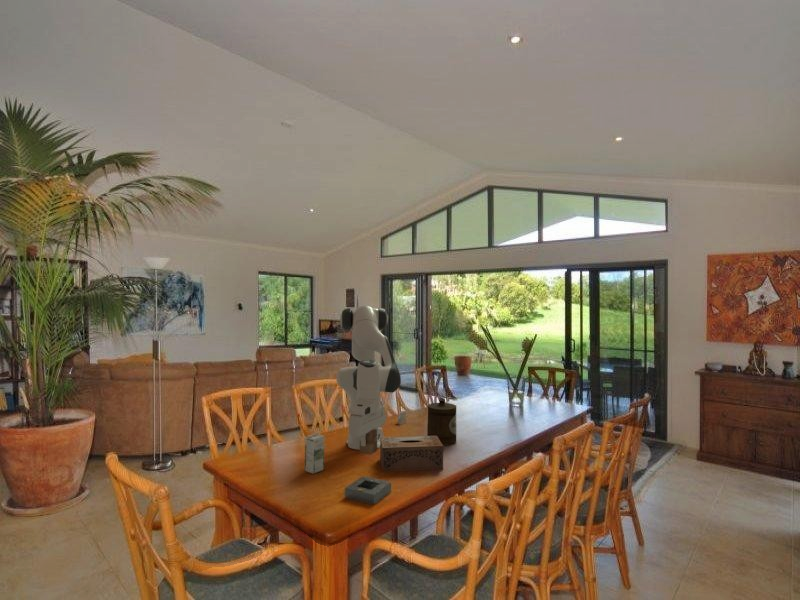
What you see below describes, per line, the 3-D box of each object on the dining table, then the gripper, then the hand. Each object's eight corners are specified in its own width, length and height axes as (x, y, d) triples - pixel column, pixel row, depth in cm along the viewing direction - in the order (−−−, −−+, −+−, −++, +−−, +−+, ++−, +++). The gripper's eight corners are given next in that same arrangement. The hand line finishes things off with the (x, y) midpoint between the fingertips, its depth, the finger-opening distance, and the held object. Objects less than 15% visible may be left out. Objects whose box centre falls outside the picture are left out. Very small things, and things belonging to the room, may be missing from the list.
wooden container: (458, 445, 212) (458, 401, 213) (428, 445, 212) (428, 401, 213) (454, 436, 227) (454, 395, 227) (426, 436, 227) (426, 395, 227)
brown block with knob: (366, 449, 160) (366, 425, 160) (377, 450, 158) (377, 427, 158) (359, 452, 156) (359, 428, 156) (370, 454, 154) (370, 430, 154)
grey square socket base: (363, 485, 165) (363, 475, 165) (391, 491, 159) (391, 481, 159) (344, 497, 154) (344, 487, 154) (373, 504, 148) (374, 494, 149)
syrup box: (315, 467, 184) (315, 432, 184) (324, 470, 180) (324, 435, 180) (304, 470, 179) (304, 436, 179) (313, 474, 175) (313, 438, 176)
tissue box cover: (436, 457, 196) (436, 435, 196) (443, 469, 182) (443, 445, 182) (380, 459, 194) (380, 437, 194) (382, 471, 179) (382, 447, 179)
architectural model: (395, 424, 252) (395, 411, 252) (402, 422, 258) (402, 409, 258) (400, 425, 250) (400, 412, 250) (407, 422, 256) (407, 410, 256)
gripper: (375, 399, 168) (375, 434, 168) (345, 410, 150) (345, 449, 150) (389, 400, 165) (389, 437, 165) (360, 412, 147) (360, 452, 147)
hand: (368, 443), depth 157 cm, fingers closed on brown block with knob, 5 cm apart
